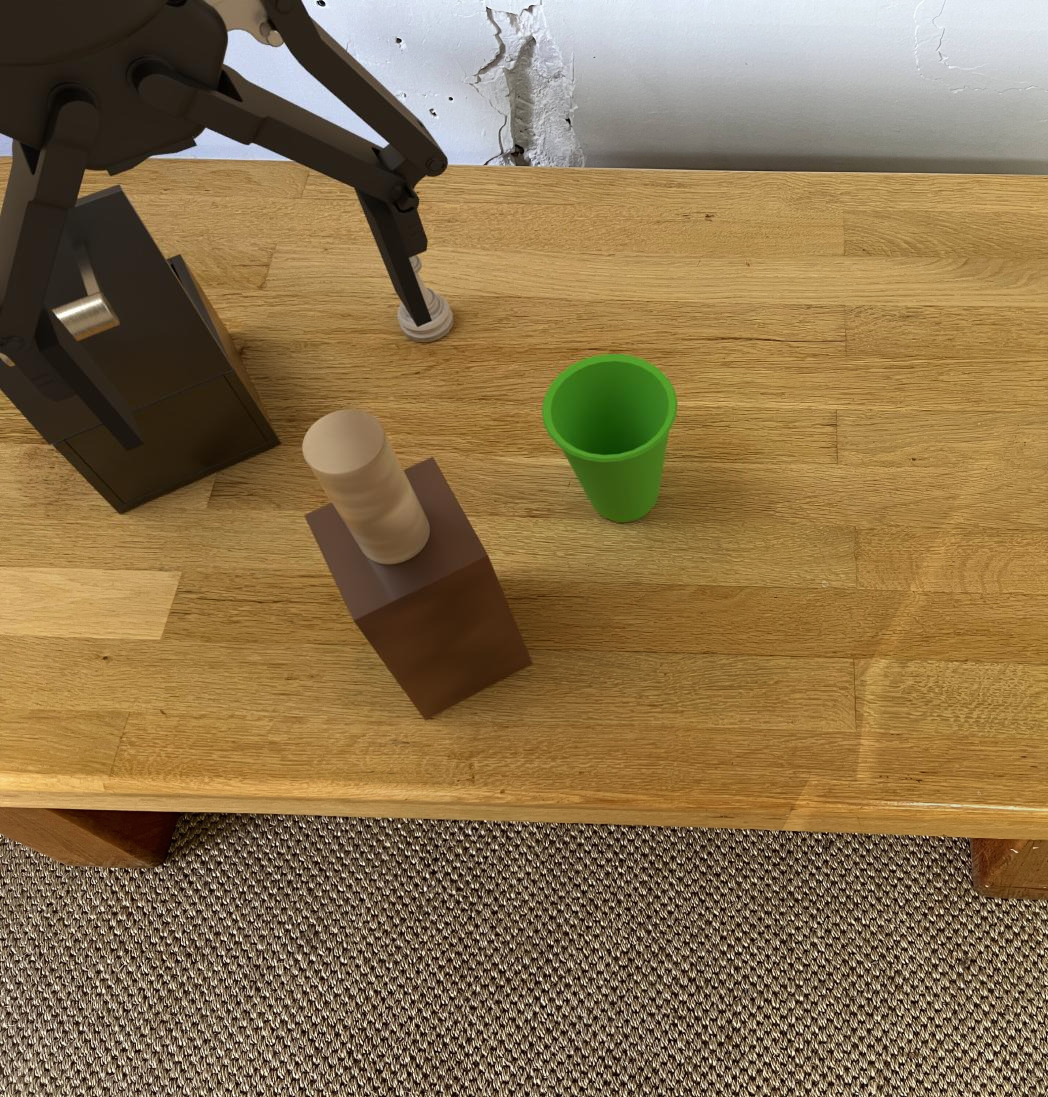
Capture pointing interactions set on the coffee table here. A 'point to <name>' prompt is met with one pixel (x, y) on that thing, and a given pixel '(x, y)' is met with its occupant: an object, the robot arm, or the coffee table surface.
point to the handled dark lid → (117, 317)
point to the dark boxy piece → (178, 428)
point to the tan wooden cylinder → (367, 485)
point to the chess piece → (437, 311)
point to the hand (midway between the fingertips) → (276, 365)
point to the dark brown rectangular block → (428, 601)
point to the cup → (613, 430)
